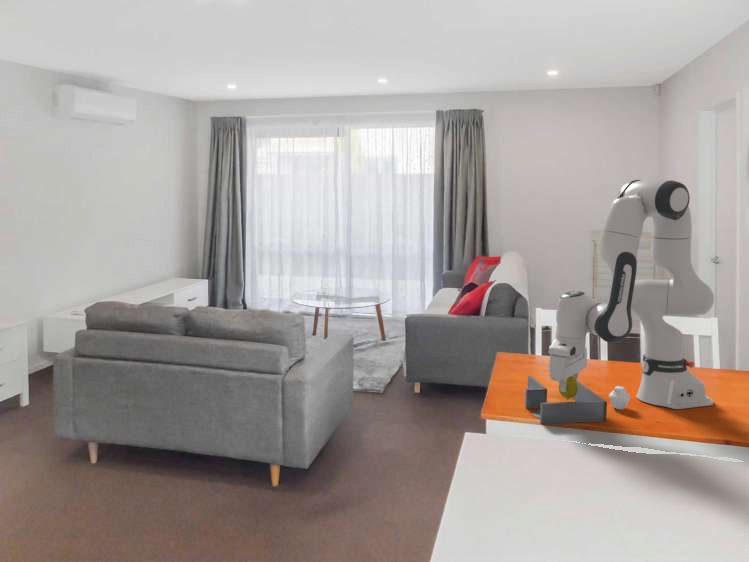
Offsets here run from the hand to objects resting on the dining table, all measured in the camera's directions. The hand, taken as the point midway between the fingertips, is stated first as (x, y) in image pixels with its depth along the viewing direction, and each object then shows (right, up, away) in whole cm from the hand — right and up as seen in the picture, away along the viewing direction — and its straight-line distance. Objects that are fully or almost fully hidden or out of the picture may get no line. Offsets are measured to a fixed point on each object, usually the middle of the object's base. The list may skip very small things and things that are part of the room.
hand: (568, 388), depth 187 cm
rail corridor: (-3, -6, +3) cm, 8 cm away
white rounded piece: (+16, -7, +2) cm, 18 cm away
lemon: (0, -4, +1) cm, 4 cm away
